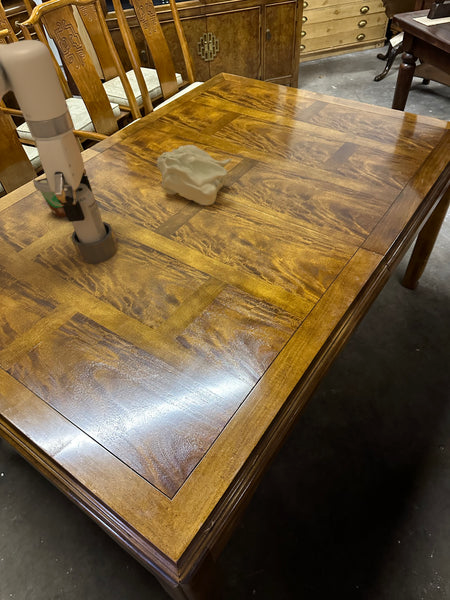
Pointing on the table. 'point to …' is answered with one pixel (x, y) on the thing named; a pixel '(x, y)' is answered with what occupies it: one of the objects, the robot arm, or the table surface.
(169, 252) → the table surface
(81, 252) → the can holder
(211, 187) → the folded clay sculpture
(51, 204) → the food container
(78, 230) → the energy drink can
